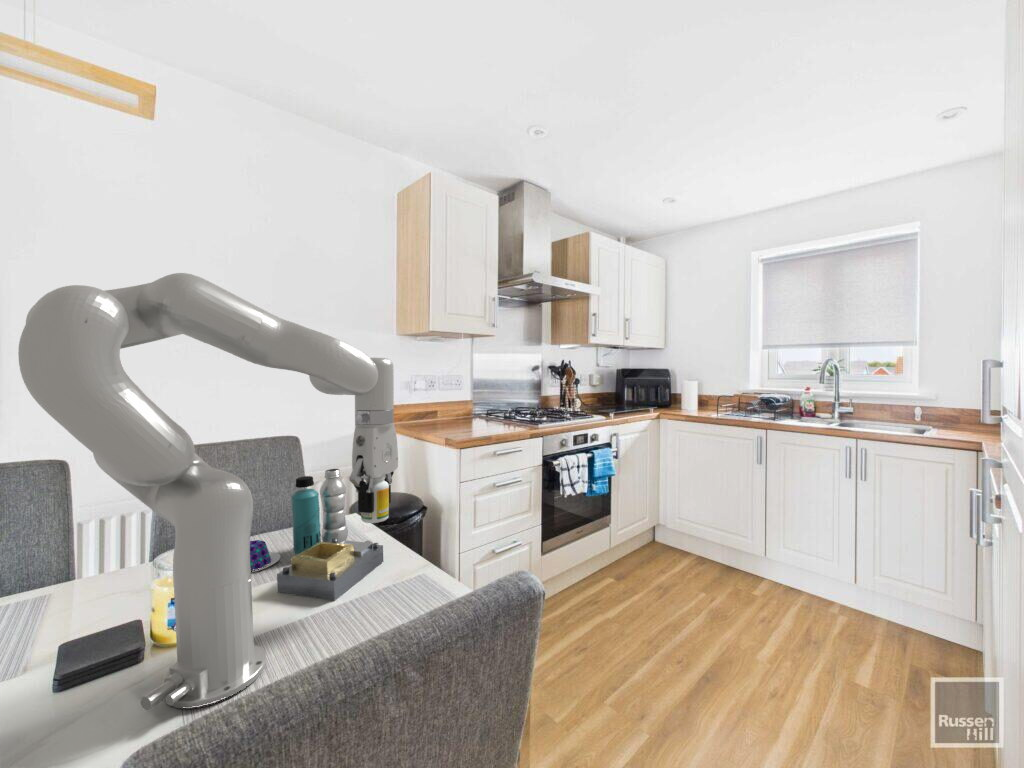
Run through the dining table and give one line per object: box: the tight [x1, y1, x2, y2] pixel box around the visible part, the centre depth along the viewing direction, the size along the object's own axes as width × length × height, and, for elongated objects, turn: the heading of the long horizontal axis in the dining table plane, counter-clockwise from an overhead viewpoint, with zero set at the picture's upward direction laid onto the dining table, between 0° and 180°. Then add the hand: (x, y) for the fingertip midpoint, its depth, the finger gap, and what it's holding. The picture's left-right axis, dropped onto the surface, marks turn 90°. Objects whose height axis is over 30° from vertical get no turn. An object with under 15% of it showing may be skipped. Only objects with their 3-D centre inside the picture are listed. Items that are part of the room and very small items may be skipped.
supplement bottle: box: [360, 473, 390, 524], centre depth 87 cm, size 5×5×10 cm
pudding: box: [250, 539, 281, 573], centre depth 104 cm, size 12×12×5 cm
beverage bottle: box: [290, 475, 322, 555], centre depth 108 cm, size 6×7×20 cm
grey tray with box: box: [276, 539, 384, 601], centre depth 99 cm, size 21×14×6 cm, turn 165°
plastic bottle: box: [319, 468, 349, 542], centre depth 115 cm, size 6×7×20 cm
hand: (375, 506), depth 87 cm, fingers closed on supplement bottle, 5 cm apart
